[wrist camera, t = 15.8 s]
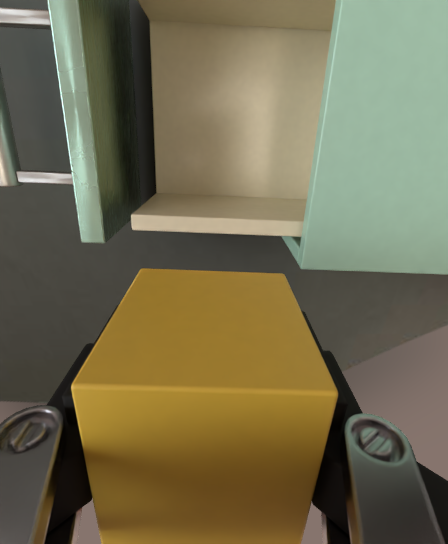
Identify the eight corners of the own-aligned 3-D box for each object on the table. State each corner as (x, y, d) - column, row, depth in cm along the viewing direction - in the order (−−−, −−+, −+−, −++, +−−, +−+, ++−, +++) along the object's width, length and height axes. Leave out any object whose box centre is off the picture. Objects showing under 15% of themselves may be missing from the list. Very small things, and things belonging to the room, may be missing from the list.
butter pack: (149, 400, 12) (104, 567, 7) (140, 267, 10) (68, 385, 5) (267, 403, 12) (296, 569, 7) (284, 272, 10) (340, 393, 5)
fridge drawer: (48, 206, 22) (-33, 238, 15) (9, -14, 18) (-137, -118, 10) (337, 218, 23) (389, 255, 16) (376, 8, 18) (478, -77, 11)
